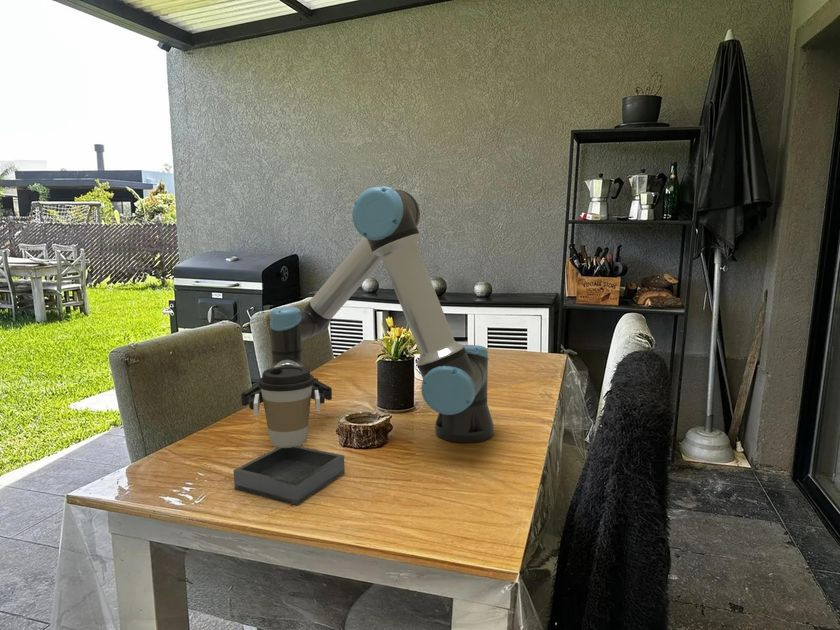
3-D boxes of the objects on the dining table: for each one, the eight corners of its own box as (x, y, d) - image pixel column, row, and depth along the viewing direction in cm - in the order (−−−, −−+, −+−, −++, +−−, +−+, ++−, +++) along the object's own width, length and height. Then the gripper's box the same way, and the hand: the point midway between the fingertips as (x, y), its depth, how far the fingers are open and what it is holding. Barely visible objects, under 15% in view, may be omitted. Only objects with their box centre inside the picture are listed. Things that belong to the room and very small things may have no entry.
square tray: (344, 473, 120) (344, 455, 120) (296, 505, 106) (296, 485, 106) (286, 460, 127) (285, 443, 127) (234, 488, 113) (233, 470, 113)
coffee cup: (269, 431, 121) (267, 364, 119) (321, 431, 121) (319, 364, 119) (252, 451, 110) (249, 378, 108) (309, 452, 110) (307, 378, 108)
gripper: (338, 391, 135) (347, 421, 114) (235, 398, 130) (225, 430, 109) (337, 361, 134) (346, 385, 113) (234, 366, 128) (223, 393, 107)
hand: (287, 407), depth 111 cm, fingers closed on coffee cup, 11 cm apart
